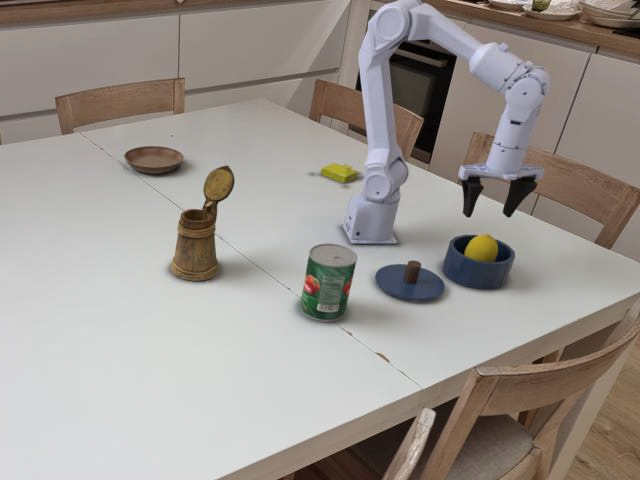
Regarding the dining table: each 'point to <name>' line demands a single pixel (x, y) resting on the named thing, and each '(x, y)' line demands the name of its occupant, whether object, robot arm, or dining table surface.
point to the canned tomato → (327, 282)
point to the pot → (477, 265)
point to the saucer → (153, 159)
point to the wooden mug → (201, 230)
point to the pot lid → (410, 281)
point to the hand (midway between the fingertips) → (486, 215)
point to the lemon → (482, 248)
